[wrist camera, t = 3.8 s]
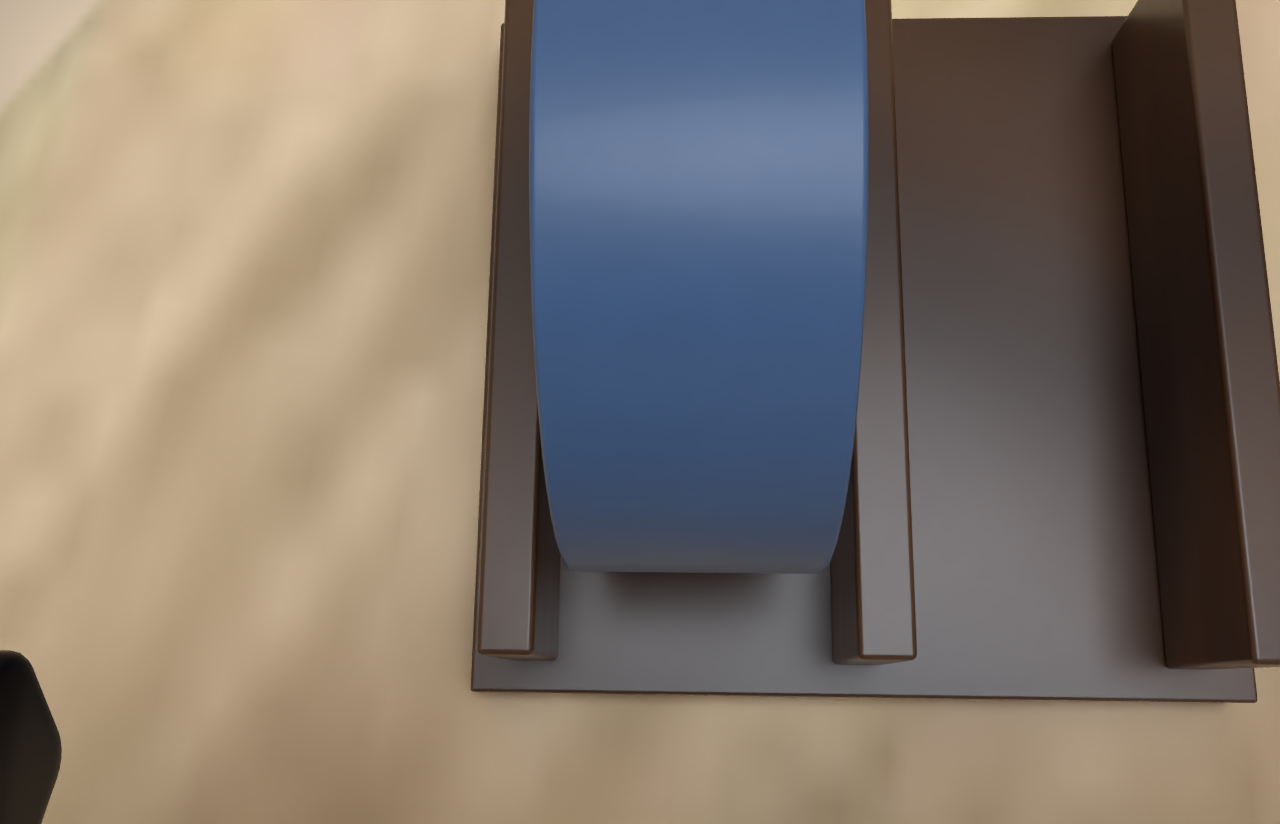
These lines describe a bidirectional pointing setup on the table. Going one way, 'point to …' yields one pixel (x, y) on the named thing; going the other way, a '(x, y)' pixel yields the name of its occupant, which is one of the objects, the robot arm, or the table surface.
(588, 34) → the disc
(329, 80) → the table surface
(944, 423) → the rack
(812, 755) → the table surface
